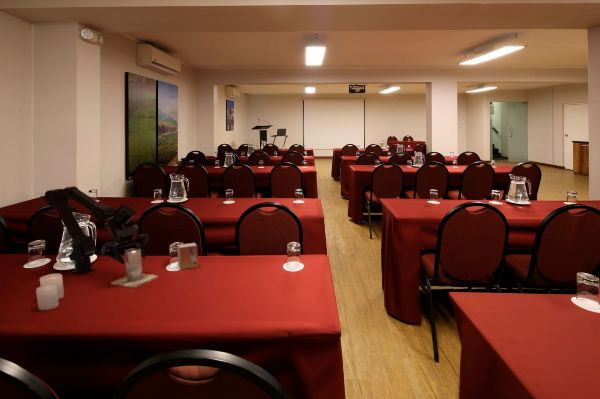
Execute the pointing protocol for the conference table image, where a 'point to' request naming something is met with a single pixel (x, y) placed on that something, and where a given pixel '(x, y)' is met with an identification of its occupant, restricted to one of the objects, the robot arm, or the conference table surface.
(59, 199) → the robot arm
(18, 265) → the conference table surface
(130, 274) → the steel flask
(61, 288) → the beige rounded block
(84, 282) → the conference table surface
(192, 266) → the small box
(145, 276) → the beige square tile
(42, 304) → the white squat cylinder
